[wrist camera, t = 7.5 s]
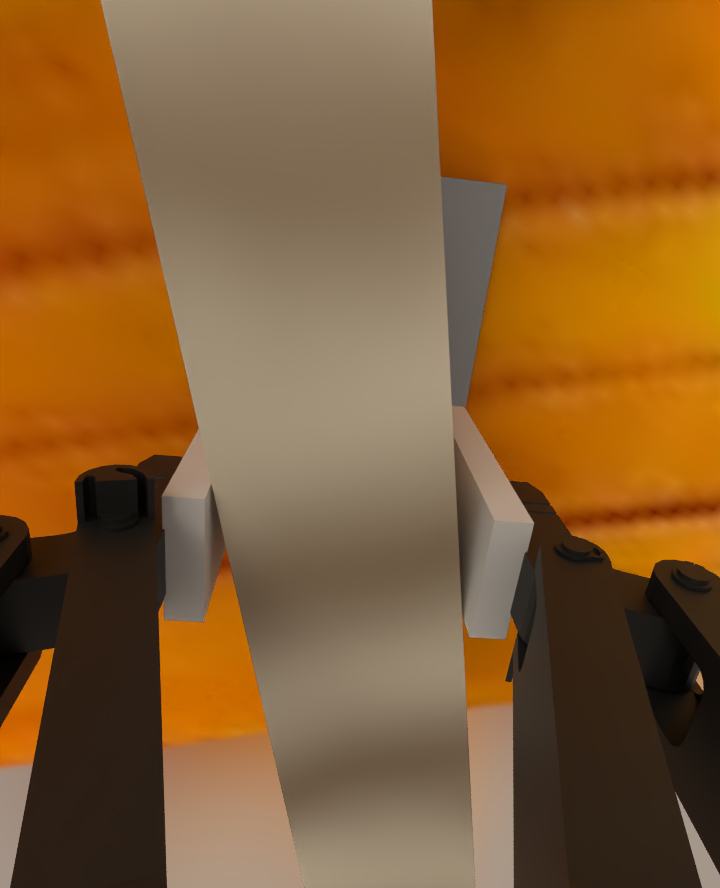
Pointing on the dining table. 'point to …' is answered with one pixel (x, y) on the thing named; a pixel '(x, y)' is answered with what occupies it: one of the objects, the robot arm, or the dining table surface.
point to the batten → (321, 396)
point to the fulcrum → (468, 268)
